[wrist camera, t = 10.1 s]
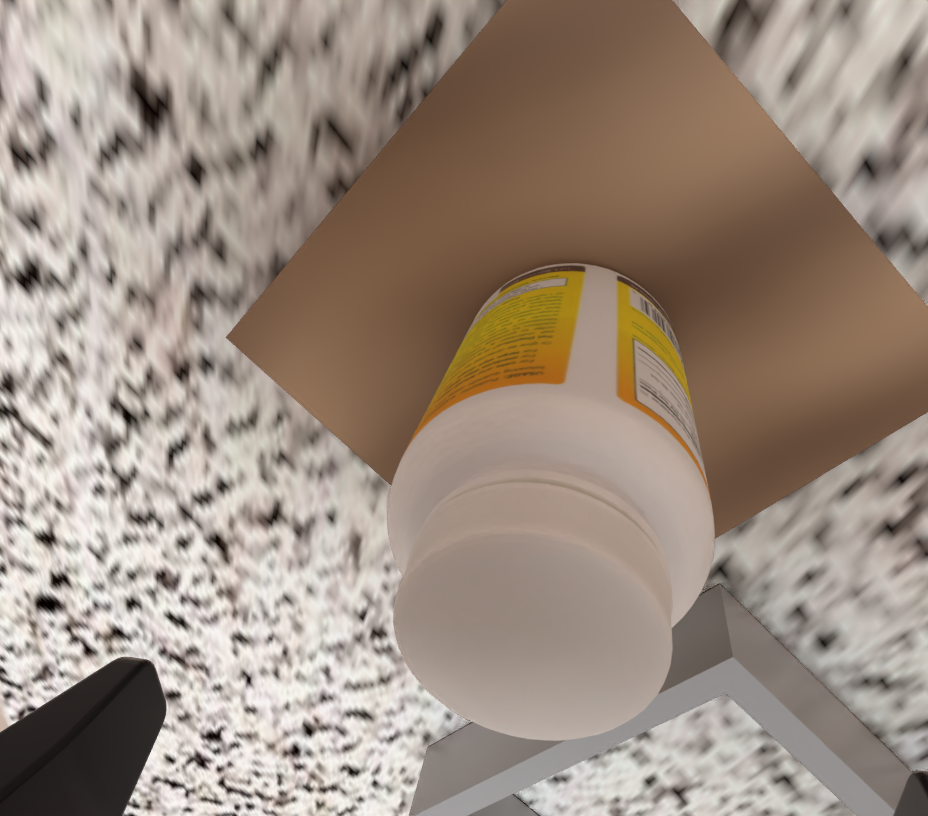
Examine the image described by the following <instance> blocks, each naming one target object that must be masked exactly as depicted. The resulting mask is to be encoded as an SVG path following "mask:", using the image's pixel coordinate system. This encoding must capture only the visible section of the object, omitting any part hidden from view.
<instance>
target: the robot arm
mask: <svg viewBox="0 0 928 816" xmlns="http://www.w3.org/2000/svg"><path fill="white" fill-rule="evenodd" d="M165 716H166V700H165V697H164V693H163V690H162V687H161V684H160V681H159V677H158V674H157V671H156V668H155V666H154V664H153V663H152V662H151V661H150V660H146V659H140V658H133V657H120V658H118V659H115V660H114V661H112V662H110V663H109V664H107V665H105V666H104V667H102V668H101V669H99V670H98V671H96V672H94V673H93V674H91V675H90V676H88V677H87V678H85V679H83V680H82V681H80V682H79V683H77V684H76V685H74V686H72V687H71V688H69V689H68V690H66V691H65V692H63V693H61V694H60V695H58V696H57V697H55V698H54V699H52V700H50V701H49V702H47V703H46V704H44V705H42V706H41V707H39V708H38V709H36V710H35V711H33V712H31V713H30V714H28V715H27V716H25V717H24V718H22V719H20V720H19V721H17V722H16V723H14V724H13V725H11V726H9V727H8V728H6V729H5V730H3V731H2V732H0V816H123V813H124V811H125V809H126V807H127V804H128V802H129V800H130V798H131V795H132V793H133V791H134V788H135V786H136V784H137V782H138V779H139V777H140V775H141V773H142V770H143V768H144V766H145V764H146V761H147V759H148V757H149V754H150V752H151V750H152V748H153V745H154V743H155V741H156V739H157V736H158V734H159V732H160V729H161V727H162V725H163V722H164V719H165ZM893 816H928V772H924V771H915V772H913V773H912V774H910V776H909V778H908V780H907V782H906V785H905V787H904V790H903V792H902V794H901V797H900V799H899V802H898V804H897V807H896V809H895V812H894V814H893Z"/></svg>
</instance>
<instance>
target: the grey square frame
mask: <svg viewBox="0 0 928 816" xmlns="http://www.w3.org/2000/svg"><path fill="white" fill-rule="evenodd" d="M672 647H673V650H672V657H671V665H670V668H669V671H668V674H667V677H666V679H665V682H664V684H663V686H662V688H661V689H660V691H659V693H658V694H657V696H656V697H655V698H654V699H653V701H652V702H651V703H650V704H649V705H648V706H647V707H646V708H645V709H644V710H643V711H642V712H640V713H639V714H638V715H636V716H635V717H634V718H632V719H631V720H629V721H628V722H626V723H624V724H622V725H620V726H618V727H616V728H614V729H612V730H610V731H607V732H604V733H601V734H598V735H594V736H589V737H584V738H579V739H573V740H560V741H551V740H534V739H526V738H520V737H515V736H510V735H507V734H503V733H500V732H497V731H493V730H490V729H488V728H485V727H483V726H481V725H478V724H476V723H474V722H472V723H470V724H469V725H467V726H465V727H463V728H462V729H460V730H458V731H456V732H454V733H453V734H451V735H449V736H447V737H445V738H444V739H442V740H440V741H438V742H436V743H435V744H433V745H431V746H429V747H428V748H427V751H426V755H425V759H424V762H423V766H422V770H421V773H420V777H419V780H418V784H417V788H416V791H415V795H414V799H413V802H412V806H411V809H410V813H409V816H538V815H537V814H536V813H535V812H534V811H532V810H531V809H530V808H529V807H527V806H526V805H525V804H524V803H523V802H521V801H520V800H519V799H518V798H516V797H515V796H514V795H513V794H514V793H516V792H518V791H520V790H522V789H524V788H527V787H529V786H531V785H533V784H535V783H537V782H539V781H541V780H543V779H546V778H548V777H550V776H552V775H554V774H556V773H558V772H560V771H562V770H565V769H567V768H569V767H571V766H573V765H575V764H577V763H579V762H581V761H584V760H586V759H588V758H590V757H592V756H594V755H596V754H598V753H600V752H603V751H605V750H607V749H609V748H611V747H613V746H615V745H617V744H619V743H622V742H624V741H626V740H628V739H630V738H632V737H634V736H636V735H638V734H641V733H643V732H645V731H647V730H649V729H651V728H653V727H655V726H657V725H660V724H662V723H664V722H666V721H668V720H670V719H672V718H674V717H676V716H679V715H681V714H683V713H685V712H687V711H689V710H691V709H693V708H695V707H698V706H700V705H702V704H704V703H706V702H708V701H710V700H712V699H714V698H717V697H719V696H721V695H723V694H725V693H726V694H727V695H728V696H729V697H730V698H731V699H733V700H734V701H735V702H736V703H737V704H738V705H739V706H740V707H741V708H742V709H743V710H744V711H745V712H746V713H747V714H749V715H750V716H751V717H752V718H753V719H754V720H755V721H756V722H757V723H758V724H759V725H760V726H761V727H762V728H764V729H765V730H766V731H767V732H768V733H769V734H770V735H771V736H772V737H773V738H774V739H775V740H776V741H777V742H779V743H780V744H781V745H782V746H783V747H784V748H785V749H786V750H787V751H788V752H789V753H790V754H791V755H792V756H793V757H795V758H796V759H797V760H798V761H799V762H800V763H801V764H802V765H803V766H804V767H805V768H806V769H807V770H808V771H810V772H811V773H812V774H813V775H814V776H815V777H816V778H817V779H818V780H819V781H820V782H821V783H822V784H823V785H825V786H826V787H827V788H828V789H829V790H830V791H831V792H832V793H833V794H834V795H835V796H836V797H837V798H838V799H839V800H841V801H842V802H843V803H844V804H845V805H846V806H847V807H848V808H849V809H850V810H851V811H852V812H853V813H854V814H856V815H857V816H893V814H894V812H895V809H896V807H897V804H898V802H899V799H900V797H901V794H902V792H903V790H904V787H905V785H906V782H907V780H908V778H909V776H910V774H912V773H913V772H912V771H911V770H910V769H908V768H907V767H906V766H905V765H904V764H903V763H902V762H901V761H900V760H899V759H898V758H897V757H896V756H895V755H894V754H893V753H892V752H891V751H890V750H889V749H888V748H887V747H886V746H885V745H884V744H883V743H882V742H881V741H880V740H879V739H878V738H877V737H876V736H875V735H874V734H873V733H872V732H871V731H870V730H869V729H868V728H867V727H866V726H865V725H864V724H862V723H861V722H860V721H859V720H858V719H857V718H856V717H855V716H854V715H853V714H852V713H851V712H850V711H849V710H848V709H847V708H846V707H845V706H844V705H843V704H842V703H841V702H840V701H839V700H838V699H837V698H836V697H835V696H834V695H833V694H832V693H831V692H830V691H829V690H828V689H827V688H826V687H825V686H824V685H823V684H822V683H821V682H820V681H819V680H818V679H817V678H815V677H814V676H813V675H812V674H811V673H810V672H809V671H808V670H807V669H806V668H805V667H804V666H803V665H802V664H801V663H800V662H799V661H798V660H797V659H796V658H795V657H794V656H793V655H792V654H791V653H790V652H789V651H788V650H787V649H786V648H785V647H784V646H783V645H782V644H781V643H780V642H779V641H778V640H777V639H776V638H775V637H774V636H773V635H772V634H771V633H769V632H768V631H767V630H766V629H765V628H764V627H763V626H762V625H761V624H760V623H759V622H758V621H757V620H756V619H755V618H754V617H753V616H752V615H751V614H750V613H749V612H748V611H747V610H746V609H745V608H744V607H743V606H742V605H741V604H740V603H739V602H738V601H737V600H736V599H735V598H734V597H733V596H732V595H731V594H730V593H729V592H728V591H727V590H726V589H725V588H724V587H722V586H721V585H720V584H719V585H717V586H715V587H714V588H712V589H710V590H708V591H707V592H705V593H703V594H701V595H699V596H698V598H697V599H696V601H695V602H694V604H693V605H692V607H691V608H690V609H689V611H688V612H687V613H686V614H685V616H684V617H683V618H682V619H681V620H680V621H679V622H678V623H677V624H676V625H675V626H674V627H672Z"/></svg>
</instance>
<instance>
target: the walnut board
mask: <svg viewBox="0 0 928 816" xmlns="http://www.w3.org/2000/svg"><path fill="white" fill-rule="evenodd" d="M565 263H579V264H588V265H595V266H599V267H603V268H606V269H609V270H612V271H615V272H617V273H619V274H621V275H623V276H625V277H627V278H629V279H630V280H632V281H634V282H635V283H637V284H638V285H640V286H641V287H642V288H644V289H645V290H646V291H647V292H648V293H649V294H650V295H651V296H652V297H653V298H654V299H655V300H656V301H657V302H658V303H659V304H660V306H661V307H662V308H663V310H664V311H665V313H666V314H667V316H668V317H669V319H670V321H671V324H672V326H673V328H674V331H675V333H676V336H677V339H678V343H679V346H680V350H681V355H682V360H683V364H684V370H685V375H686V379H687V385H688V390H689V395H690V399H691V404H692V409H693V414H694V419H695V424H696V429H697V434H698V439H699V444H700V449H701V454H702V459H703V464H704V469H705V474H706V479H707V483H708V488H709V493H710V498H711V503H712V510H713V517H714V530H715V538H717V537H719V536H720V535H722V534H724V533H726V532H727V531H729V530H731V529H732V528H734V527H736V526H737V525H739V524H741V523H742V522H744V521H746V520H747V519H749V518H751V517H752V516H754V515H756V514H757V513H759V512H761V511H762V510H764V509H766V508H767V507H769V506H771V505H772V504H774V503H776V502H778V501H779V500H781V499H783V498H784V497H786V496H788V495H789V494H791V493H793V492H794V491H796V490H798V489H799V488H801V487H803V486H804V485H806V484H808V483H809V482H811V481H813V480H814V479H816V478H818V477H819V476H821V475H823V474H824V473H826V472H828V471H830V470H831V469H833V468H835V467H836V466H838V465H840V464H841V463H843V462H845V461H846V460H848V459H850V458H851V457H853V456H855V455H856V454H858V453H860V452H861V451H863V450H865V449H866V448H868V447H870V446H871V445H873V444H875V443H877V442H878V441H880V440H882V439H883V438H885V437H887V436H888V435H890V434H892V433H893V432H895V431H897V430H898V429H900V428H902V427H903V426H905V425H907V424H908V423H910V422H912V421H913V420H915V419H917V418H918V417H920V416H922V415H923V414H925V413H927V412H928V307H927V306H926V304H925V303H924V302H923V301H922V300H921V298H920V297H919V296H918V295H917V294H916V292H915V291H914V290H913V289H912V288H911V286H910V285H909V284H908V283H907V282H906V280H905V279H904V278H903V277H902V276H901V274H900V273H899V272H898V271H897V270H896V268H895V267H894V266H893V265H892V264H891V262H890V261H889V260H888V259H887V258H886V256H885V255H884V254H883V253H882V252H881V250H880V249H879V248H878V247H877V246H876V244H875V243H874V242H873V241H872V240H871V238H870V237H869V236H868V235H867V234H866V232H865V231H864V230H863V229H862V228H861V226H860V225H859V224H858V223H857V222H856V220H855V219H854V218H853V217H852V216H851V214H850V213H849V212H848V211H847V210H846V208H845V207H844V206H843V205H842V204H841V202H840V201H839V200H838V199H837V198H836V196H835V195H834V194H833V193H832V192H831V190H830V189H829V188H828V187H827V186H826V184H825V183H824V182H823V181H822V179H821V178H820V177H819V176H818V175H817V173H816V172H815V171H814V170H813V169H812V167H811V166H810V165H809V164H808V163H807V161H806V160H805V159H804V158H803V157H802V155H801V154H800V153H799V152H798V151H797V149H796V148H795V147H794V146H793V145H792V143H791V142H790V141H789V140H788V139H787V137H786V136H785V135H784V134H783V133H782V131H781V130H780V129H779V128H778V127H777V125H776V124H775V123H774V122H773V121H772V119H771V118H770V117H769V116H768V115H767V113H766V112H765V111H764V110H763V109H762V107H761V106H760V105H759V104H758V103H757V101H756V100H755V99H754V98H753V97H752V95H751V94H750V93H749V92H748V91H747V89H746V88H745V87H744V86H743V85H742V83H741V82H740V81H739V80H738V79H737V77H736V76H735V75H734V74H733V73H732V71H731V70H730V69H729V68H728V67H727V65H726V64H725V63H724V62H723V61H722V59H721V58H720V57H719V56H718V55H717V53H716V52H715V51H714V50H713V49H712V47H711V46H710V45H709V44H708V43H707V41H706V40H705V39H704V38H703V37H702V35H701V34H700V33H699V32H698V31H697V29H696V28H695V27H694V26H693V25H692V23H691V22H690V21H689V20H688V19H687V17H686V16H685V15H684V14H683V13H682V11H681V10H680V9H679V8H678V7H677V5H676V4H675V3H674V2H673V1H672V0H507V1H506V2H505V3H504V4H503V5H502V7H501V8H500V9H499V10H498V11H497V13H496V14H495V15H494V16H493V17H492V19H491V20H490V21H489V22H488V23H487V25H486V26H485V27H484V28H483V29H482V31H481V32H480V33H479V34H478V35H477V37H476V38H475V39H474V40H473V41H472V43H471V44H470V45H469V46H468V47H467V49H466V50H465V51H464V52H463V53H462V55H461V56H460V57H459V58H458V59H457V61H456V62H455V63H454V64H453V65H452V67H451V68H450V69H449V70H448V71H447V73H446V74H445V75H444V76H443V77H442V79H441V80H440V81H439V82H438V83H437V85H436V86H435V87H434V88H433V89H432V91H431V92H430V93H429V94H428V95H427V97H426V98H425V99H424V100H423V101H422V103H421V104H420V105H419V106H418V107H417V109H416V110H415V111H414V112H413V113H412V115H411V116H410V117H409V118H408V119H407V121H406V122H405V123H404V124H403V125H402V127H401V128H400V129H399V130H398V131H397V133H396V134H395V135H394V136H393V137H392V139H391V140H390V141H389V142H388V143H387V145H386V146H385V147H384V148H383V149H382V151H381V152H380V153H379V154H378V155H377V157H376V158H375V159H374V160H373V161H372V163H371V164H370V165H369V166H368V167H367V169H366V170H365V171H364V172H363V173H362V175H361V176H360V177H359V178H358V179H357V181H356V182H355V183H354V184H353V185H352V187H351V188H350V189H349V190H348V191H347V193H346V194H345V195H344V196H343V197H342V199H341V200H340V201H339V202H338V203H337V205H336V206H335V207H334V208H333V209H332V211H331V212H330V213H329V214H328V215H327V217H326V218H325V219H324V220H323V221H322V223H321V224H320V225H319V226H318V227H317V229H316V230H315V231H314V232H313V233H312V235H311V236H310V237H309V238H308V239H307V241H306V242H305V243H304V244H303V245H302V247H301V248H300V249H299V250H298V251H297V253H296V254H295V255H294V256H293V257H292V259H291V260H290V261H289V262H288V263H287V265H286V266H285V267H284V268H283V270H282V271H281V272H280V273H279V274H278V276H277V277H276V278H275V279H274V280H273V282H272V283H271V284H270V285H269V286H268V288H267V289H266V290H265V291H264V292H263V294H262V295H261V296H260V297H259V298H258V300H257V301H256V302H255V303H254V304H253V306H252V307H251V308H250V309H249V310H248V312H247V313H246V314H245V315H244V316H243V318H242V319H241V320H240V321H239V322H238V324H237V325H236V326H235V327H234V328H233V330H232V331H231V332H230V333H229V334H228V336H227V337H226V338H227V339H228V340H229V341H230V342H231V343H233V344H234V345H235V346H236V347H237V348H238V349H239V350H240V351H241V352H243V353H244V354H245V355H246V356H247V357H248V358H249V359H250V360H252V361H253V362H254V363H255V364H256V365H257V366H258V367H259V368H260V369H262V370H263V371H264V372H265V373H266V374H267V375H268V376H269V377H271V378H272V379H273V380H274V381H275V382H276V383H277V384H278V385H279V386H281V387H282V388H283V389H284V390H285V391H286V392H287V393H288V394H290V395H291V396H292V397H293V398H294V399H295V400H296V401H297V402H298V403H300V404H301V405H302V406H303V407H304V408H305V409H306V410H307V411H308V412H310V413H311V414H312V415H313V416H314V417H315V418H316V419H317V420H319V421H320V422H321V423H322V424H323V425H324V426H325V427H326V428H327V429H329V430H330V431H331V432H332V433H333V434H334V435H335V436H336V437H338V438H339V439H340V440H341V441H342V442H343V443H344V444H345V445H346V446H348V447H349V448H350V449H351V450H352V451H353V452H354V453H355V454H356V455H358V456H359V457H360V458H361V459H362V460H363V461H364V462H365V463H367V464H368V465H369V466H370V467H371V468H372V469H373V470H374V471H375V472H377V473H378V474H379V475H380V476H381V477H382V478H383V479H384V480H386V481H387V482H388V483H389V484H390V485H392V482H393V479H394V476H395V473H396V471H397V468H398V466H399V463H400V461H401V459H402V457H403V455H404V453H405V451H406V449H407V447H408V445H409V443H410V441H411V439H412V437H413V435H414V433H415V431H416V429H417V428H418V426H419V424H420V422H421V420H422V418H423V416H424V414H425V412H426V411H427V408H428V407H429V405H430V403H431V401H432V399H433V397H434V395H435V393H436V391H437V389H438V387H439V386H440V384H441V382H442V380H443V378H444V376H445V374H446V372H447V370H448V368H449V366H450V364H451V362H452V361H453V359H454V357H455V355H456V353H457V351H458V349H459V347H460V346H461V344H462V342H463V340H464V338H465V336H466V334H467V332H468V330H469V328H470V326H471V325H472V323H473V321H474V319H475V317H476V315H477V314H478V312H479V311H480V309H481V308H482V306H483V305H484V304H485V303H486V301H487V300H488V299H489V298H490V297H491V296H492V295H493V294H494V293H495V292H496V291H497V290H498V289H499V288H501V287H502V286H503V285H505V284H506V283H507V282H509V281H510V280H512V279H514V278H515V277H517V276H519V275H521V274H523V273H526V272H529V271H531V270H534V269H537V268H540V267H544V266H549V265H554V264H565Z"/></svg>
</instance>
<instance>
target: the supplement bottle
mask: <svg viewBox="0 0 928 816" xmlns="http://www.w3.org/2000/svg"><path fill="white" fill-rule="evenodd" d="M387 527H388V535H389V540H390V545H391V549H392V552H393V555H394V558H395V561H396V563H397V566H398V568H399V571H400V572H401V574H402V576H403V578H402V580H401V583H400V585H399V588H398V591H397V594H396V599H395V605H394V619H393V623H394V630H395V635H396V639H397V643H398V647H399V649H400V652H401V654H402V657H403V659H404V660H405V662H406V664H407V666H408V667H409V669H410V671H411V672H412V674H413V675H414V676H415V677H416V679H417V680H418V681H419V682H420V683H421V684H422V685H423V686H424V688H425V689H426V690H427V691H428V692H429V693H430V694H431V695H432V696H434V697H435V698H436V699H437V700H439V701H440V702H441V703H442V704H444V705H445V706H446V707H447V708H449V709H450V710H452V711H453V712H455V713H457V714H458V715H460V716H461V717H463V718H465V719H468V720H470V721H472V722H474V723H476V724H478V725H481V726H483V727H485V728H488V729H490V730H493V731H497V732H500V733H503V734H507V735H510V736H515V737H520V738H526V739H534V740H551V741H560V740H573V739H579V738H584V737H589V736H594V735H598V734H601V733H604V732H607V731H610V730H612V729H614V728H616V727H618V726H620V725H622V724H624V723H626V722H628V721H629V720H631V719H632V718H634V717H635V716H636V715H638V714H639V713H640V712H642V711H643V710H644V709H645V708H646V707H647V706H648V705H649V704H650V703H651V702H652V701H653V699H654V698H655V697H656V696H657V694H658V693H659V691H660V689H661V688H662V686H663V684H664V682H665V679H666V677H667V674H668V671H669V668H670V665H671V657H672V650H673V647H672V627H674V626H675V625H676V624H677V623H678V622H679V621H680V620H681V619H682V618H683V617H684V616H685V614H686V613H687V612H688V611H689V609H690V608H691V607H692V605H693V604H694V602H695V601H696V599H697V598H698V596H699V594H700V593H701V591H702V589H703V586H704V584H705V582H706V579H707V577H708V575H709V571H710V567H711V563H712V559H713V555H714V544H715V530H714V517H713V510H712V503H711V498H710V493H709V488H708V483H707V479H706V474H705V469H704V464H703V459H702V454H701V449H700V444H699V439H698V434H697V429H696V424H695V419H694V414H693V409H692V404H691V399H690V395H689V390H688V385H687V379H686V375H685V370H684V364H683V360H682V355H681V350H680V346H679V343H678V339H677V336H676V333H675V331H674V328H673V326H672V324H671V321H670V319H669V317H668V316H667V314H666V313H665V311H664V310H663V308H662V307H661V306H660V304H659V303H658V302H657V301H656V300H655V299H654V298H653V297H652V296H651V295H650V294H649V293H648V292H647V291H646V290H645V289H644V288H642V287H641V286H640V285H638V284H637V283H635V282H634V281H632V280H630V279H629V278H627V277H625V276H623V275H621V274H619V273H617V272H615V271H612V270H609V269H606V268H603V267H599V266H595V265H588V264H579V263H565V264H554V265H549V266H544V267H540V268H537V269H534V270H531V271H529V272H526V273H523V274H521V275H519V276H517V277H515V278H514V279H512V280H510V281H509V282H507V283H506V284H505V285H503V286H502V287H501V288H499V289H498V290H497V291H496V292H495V293H494V294H493V295H492V296H491V297H490V298H489V299H488V300H487V301H486V303H485V304H484V305H483V306H482V308H481V309H480V311H479V312H478V314H477V315H476V317H475V319H474V321H473V323H472V325H471V326H470V328H469V330H468V332H467V334H466V336H465V338H464V340H463V342H462V344H461V346H460V347H459V349H458V351H457V353H456V355H455V357H454V359H453V361H452V362H451V364H450V366H449V368H448V370H447V372H446V374H445V376H444V378H443V380H442V382H441V384H440V386H439V387H438V389H437V391H436V393H435V395H434V397H433V399H432V401H431V403H430V405H429V407H428V408H427V411H426V412H425V414H424V416H423V418H422V420H421V422H420V424H419V426H418V428H417V429H416V431H415V433H414V435H413V437H412V439H411V441H410V443H409V445H408V447H407V449H406V451H405V453H404V455H403V457H402V459H401V461H400V463H399V466H398V468H397V471H396V473H395V476H394V479H393V482H392V485H391V489H390V494H389V499H388V509H387Z"/></svg>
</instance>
